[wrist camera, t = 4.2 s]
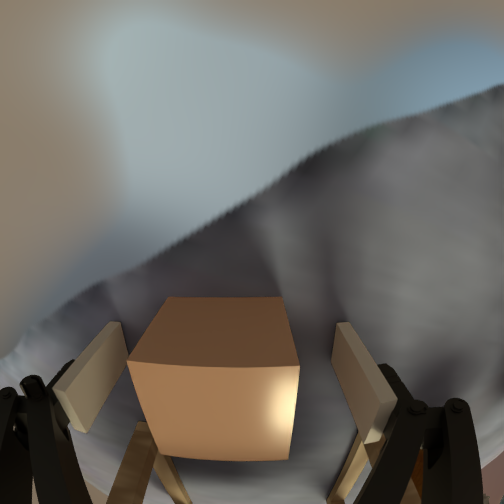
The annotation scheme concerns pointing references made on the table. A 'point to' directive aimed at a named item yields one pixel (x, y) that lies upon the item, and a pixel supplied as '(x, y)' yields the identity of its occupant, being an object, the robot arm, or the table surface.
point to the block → (218, 378)
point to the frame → (137, 477)
